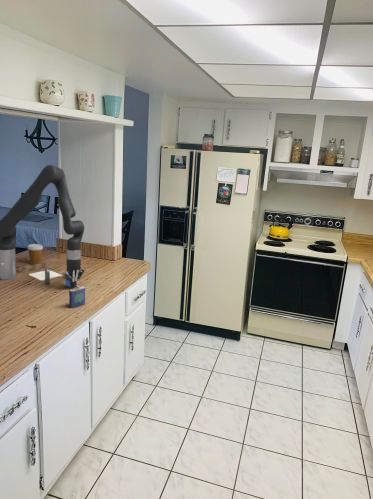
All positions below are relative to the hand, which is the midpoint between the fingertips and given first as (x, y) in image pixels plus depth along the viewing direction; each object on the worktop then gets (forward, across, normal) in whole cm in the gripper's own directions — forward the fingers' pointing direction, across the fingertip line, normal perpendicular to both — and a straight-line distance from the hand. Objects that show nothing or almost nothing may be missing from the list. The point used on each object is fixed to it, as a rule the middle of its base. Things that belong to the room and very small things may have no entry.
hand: (73, 287), depth 214 cm
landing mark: (+1, -1, -30) cm, 30 cm away
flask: (+1, +12, +20) cm, 23 cm away
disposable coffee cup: (+1, -8, -54) cm, 54 cm away
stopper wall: (+1, 0, -44) cm, 44 cm away
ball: (-2, -1, -4) cm, 5 cm away
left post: (+1, +6, -16) cm, 17 cm away
